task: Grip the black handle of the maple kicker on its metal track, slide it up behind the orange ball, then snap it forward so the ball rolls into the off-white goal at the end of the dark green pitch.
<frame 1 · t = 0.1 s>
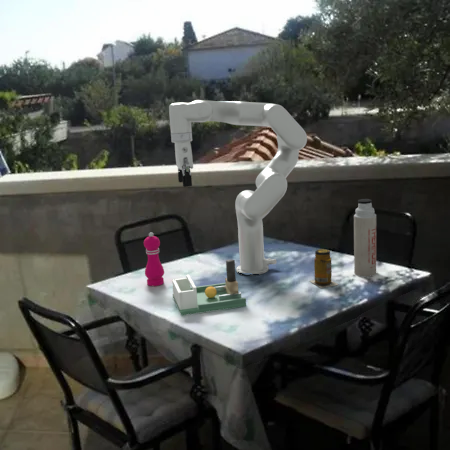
hand: (185, 184, 233), 37 cm above the table, tool pointing down, fingers open, 9 cm apart
kicker track: (227, 292, 218), point 2 cm above the table
pitch: (208, 301, 217), on the table
ball: (210, 292, 217), point 3 cm above the table, touching pitch
kicker: (231, 277, 217), point 8 cm above the table, slide at 0.0 cm
thermos bottle: (365, 273, 236), on the table
pepper mill: (155, 284, 239), on the table
condiment: (323, 283, 228), on the table
goal: (184, 291, 215), point 5 cm above the table
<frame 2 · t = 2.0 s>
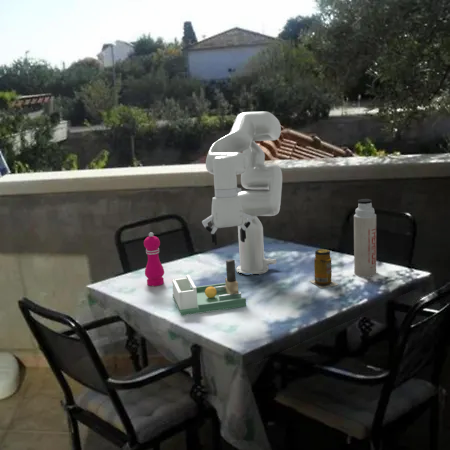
hand: (228, 242, 214), 20 cm above the table, tool pointing down, fingers open, 9 cm apart
nothing on the table moved.
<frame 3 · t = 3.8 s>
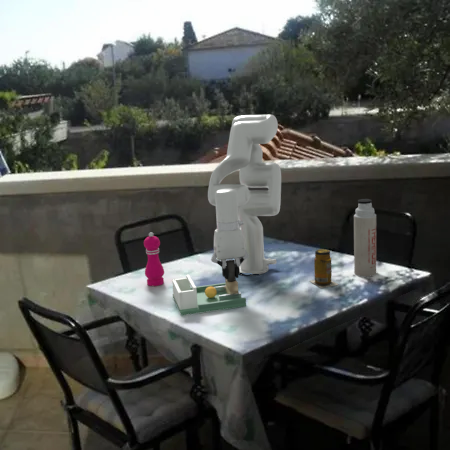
hand: (231, 277, 217), 8 cm above the table, tool pointing down, fingers closed on kicker, 3 cm apart
kicker: (231, 277, 217), point 8 cm above the table, slide at 0.0 cm, touching gripper
everything else where it was.
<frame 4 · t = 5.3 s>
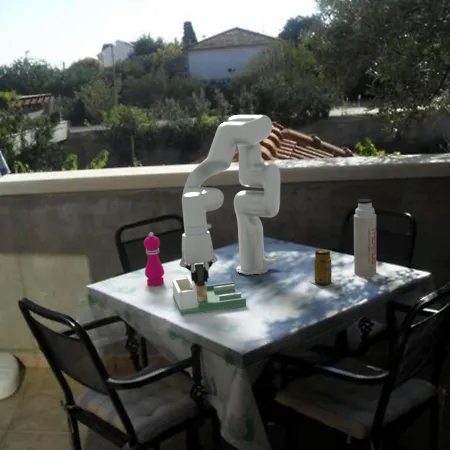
hand: (200, 281, 215), 8 cm above the table, tool pointing down, fingers closed on kicker, 3 cm apart
ball: (185, 295, 215), point 3 cm above the table, tilted 121°, touching pitch
kicker: (200, 281, 215), point 8 cm above the table, slide at 10.8 cm, touching gripper
everything else where it was.
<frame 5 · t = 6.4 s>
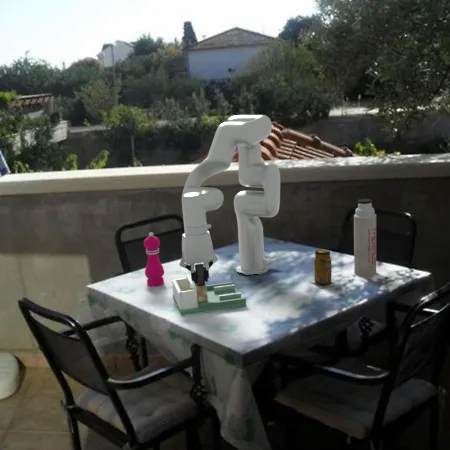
hand: (200, 280, 215), 8 cm above the table, tool pointing down, fingers closed on kicker, 3 cm apart
ball: (191, 295, 215), point 3 cm above the table, tilted 179°, touching kicker, pitch
kicker: (200, 281, 215), point 8 cm above the table, slide at 10.8 cm, touching ball, gripper
everything else where it was.
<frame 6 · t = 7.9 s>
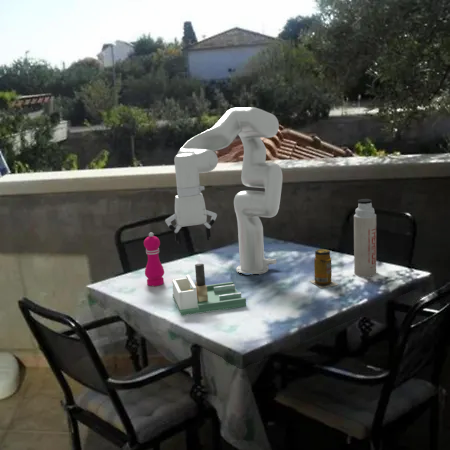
hand: (193, 241, 211), 22 cm above the table, tool pointing down, fingers open, 9 cm apart
ball: (191, 295, 215), point 3 cm above the table, tilted 179°, touching pitch
kicker: (200, 281, 215), point 8 cm above the table, slide at 10.7 cm
everything else where it was.
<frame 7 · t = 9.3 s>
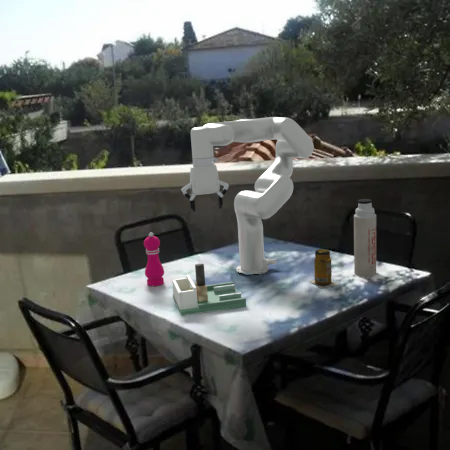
hand: (206, 209, 228), 28 cm above the table, tool pointing down, fingers open, 9 cm apart
nothing on the table moved.
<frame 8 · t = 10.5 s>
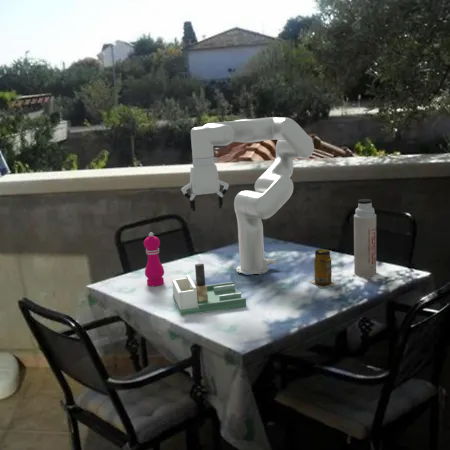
hand: (206, 209, 228), 28 cm above the table, tool pointing down, fingers open, 9 cm apart
nothing on the table moved.
at the end: ball inside the target area (1.7 cm from its centre), point 3.2 cm above the table; kicker slide at 10.7 cm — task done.
